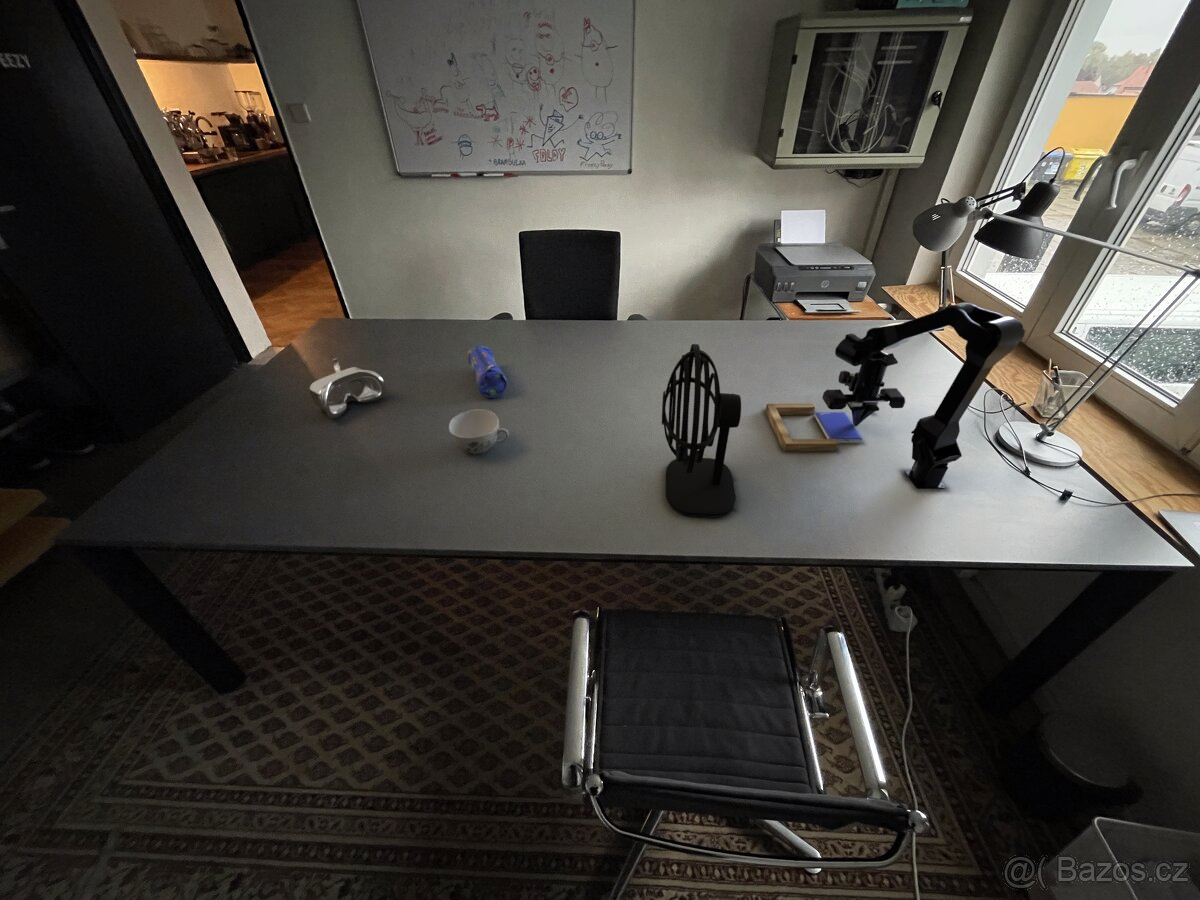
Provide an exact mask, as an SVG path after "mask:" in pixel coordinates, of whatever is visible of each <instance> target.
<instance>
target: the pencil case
mask: <svg viewBox="0 0 1200 900" xmlns="http://www.w3.org/2000/svg"><path fill="white" fill-rule="evenodd" d="M466 359H467V362H468V364H469V365H470V367H471V371H472V373H473V375H474V377H475V381H476V384H477V389H478V391H479V392H480V394H481V395H482V396H483V397H485V398H488V399H495V398H497V397H499V396H500V395H502V394H503V393H504V392H505V391H506V390H507V389H506V388H507V386H508V379H507V376H506V375H505V374H504V372H503V371H502V370H501V368H500V367H499V365H497V364H496V360H495V358H494V352H493V350H492V349H491V347H489V346H486V345H476V346H473V347H472V348H470V349H469V350H468V351H467V353H466Z"/></svg>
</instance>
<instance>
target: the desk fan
mask: <svg viewBox="0 0 1200 900" xmlns="http://www.w3.org/2000/svg"><path fill="white" fill-rule="evenodd" d="M693 366H694V377H693V376H692V374H693ZM710 366H711V368H712V370H713V372H711V374H710ZM678 370H679V371H678ZM677 371H678V372H679V373H678V379H677ZM702 371H703V375H704V379H703V380H704V381H702ZM691 383H693V384H694V393H693V409H692V410H693V411H692V427H691V429H692V430H691V439H690V442H689V411H690V396H691V394H690V393H691ZM713 383H714V392H713V390H712V385H713ZM702 389H703V390H704V391H703V392H704V393H703V415H702V425H701V436H700V442H698V438H699V431H700V430H699V427H700V418H701V417H700V416H701V400H702V399H701V398H702V397H701V396H702ZM682 393H683V396H682ZM682 397H683V400H682ZM668 398H669V401H668V402H669V403H668V418H667V413H666V407H667V400H668ZM710 399H711V400H712V402H713V405H714V409H713V419H712V420H713V421H712V428H711V430H710V432H709V413H710V412H709V411H710ZM682 402H683V403H682ZM661 403H662V404H661V425H663V429H664V430H663V431H664V436H665V439H666V442H667V445H668V447H669V449H670V452H672V454H673V455H674V456H675V458H674V459H673V460H672V461H670V462H669V463H668V464H667V466H666V469H665V500H666V502H667V504H668V505H669V507H671V508H672V509H673V510H674V511H675V512H677V513H679V514H681V515H685V516H693V517H708V518H720V517H723V516H726V515H728V514H729V513H731V512H732V511H733V509H734V507H735V505H736V501H737V495H736V490H735V489H736V488H735V483H734V476H733V473H732V471H731V470H730V468H729V467H728V466H727V465H726V464H725V458H726V452H727V446H728V441H729V435H730V429H731V428H732V429H733V428H734V429H735V428H738V427H739V425H740V423H741V417H742V416H741V415H742V398H741V395H739V394H735V393H726V392H725V393H724V392H721V387H720V380H719V374H718V369H717V368H716V364H715V362H714V361H713V359H712V358H711V356H710V355H709V354H708V353H707V352H705V351H704V350H702V349H701V348H700V344H698V343H691V345H690V349H689V351H688V352H686V353H685V354H682V355H681V357H680V359H679V360H678V361H677V363H676V364H675V366H674V368H673V370H672V372H671V374H670V376H669V380H668V382H667V386H666V389H665V390H664V391H663V392H662V402H661ZM681 409H682V411H681ZM681 412H682V413H681ZM681 414H682V416H681ZM681 417H682V418H681ZM681 419H682V420H681ZM717 432H718V436H717V442H716V449H715V456H714V458H711V457H704V455H705V449H706V448H707V447H708V448H711V447H713V445H714V442H715V439H716V434H717ZM674 441H675V447H674V446H673V443H674Z"/></svg>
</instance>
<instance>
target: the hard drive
mask: <svg viewBox="0 0 1200 900" xmlns="http://www.w3.org/2000/svg"><path fill="white" fill-rule="evenodd" d="M814 418H815V420H816V421H817V423H818V425H819V427H820V428H821V430H822V432H823V434H824V436H825V437H826V439H835V440H836V441H837V443H838V444H861V443H862V441H863V438H862V437H861V435H860V433H859V432H858V430H857V429H856V427H854V425H853V422H852V421H851V419H850V417H849V416H848V415H847V413H846V412H843V411H837V412H836V411H818V412H817V411H816V412H814Z"/></svg>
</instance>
